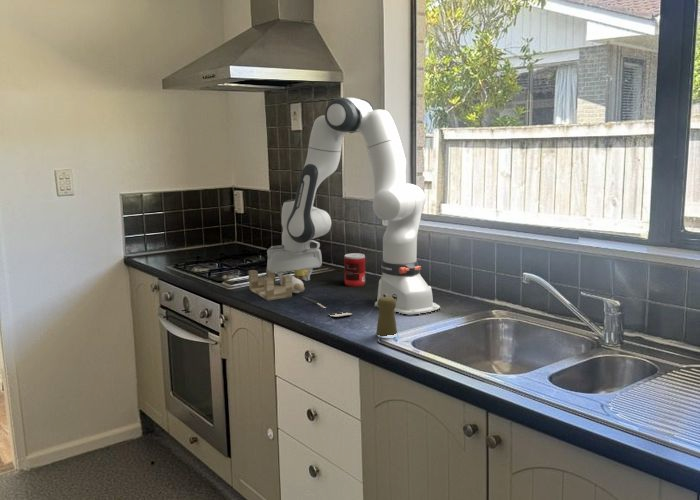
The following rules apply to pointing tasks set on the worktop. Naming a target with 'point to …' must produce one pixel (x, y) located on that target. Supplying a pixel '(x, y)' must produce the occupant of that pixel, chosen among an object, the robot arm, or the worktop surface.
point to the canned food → (354, 269)
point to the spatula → (325, 307)
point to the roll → (296, 285)
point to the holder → (270, 285)
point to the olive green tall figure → (386, 316)
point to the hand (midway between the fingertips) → (294, 281)
